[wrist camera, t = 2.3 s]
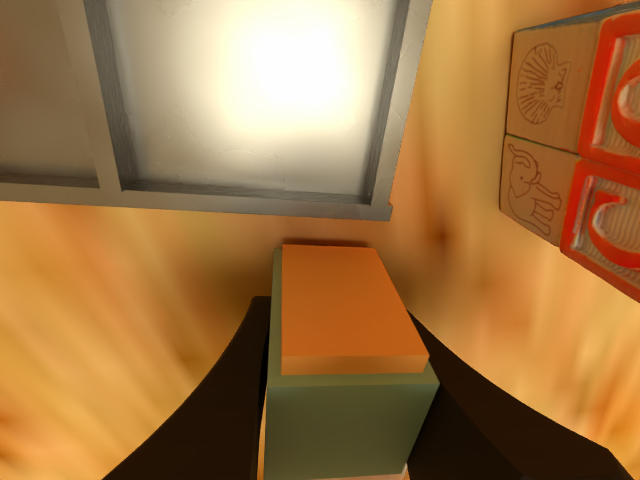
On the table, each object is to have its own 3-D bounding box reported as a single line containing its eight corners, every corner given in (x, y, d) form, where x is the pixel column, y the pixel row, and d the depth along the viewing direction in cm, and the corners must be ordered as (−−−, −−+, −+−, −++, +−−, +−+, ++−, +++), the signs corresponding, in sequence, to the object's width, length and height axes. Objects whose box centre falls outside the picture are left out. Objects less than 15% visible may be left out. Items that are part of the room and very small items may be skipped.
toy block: (270, 326, 14) (263, 482, 9) (274, 234, 12) (267, 368, 6) (358, 327, 14) (401, 473, 9) (377, 239, 12) (447, 365, 7)
